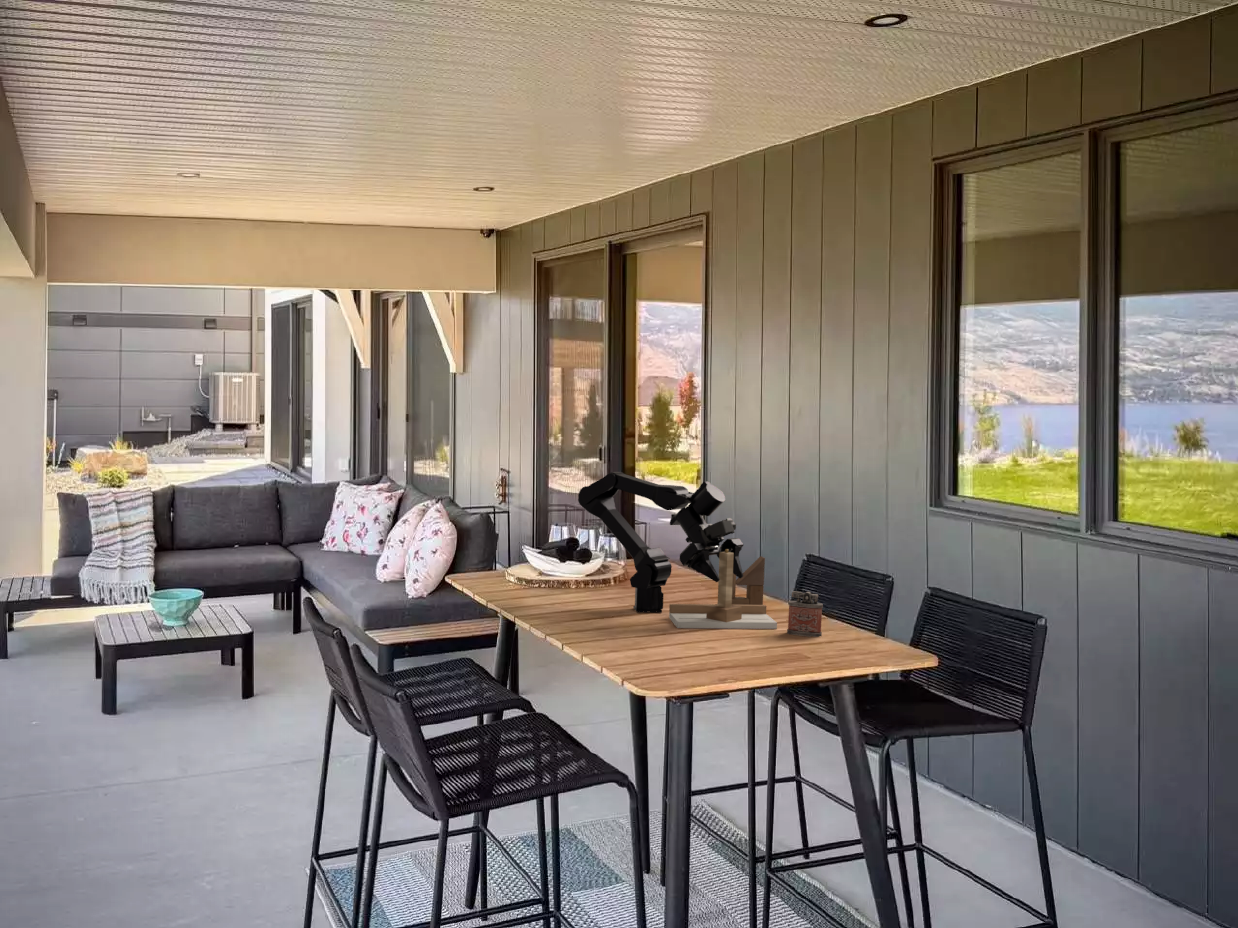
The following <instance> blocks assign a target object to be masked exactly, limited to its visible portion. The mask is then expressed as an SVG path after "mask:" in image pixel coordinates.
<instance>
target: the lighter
mask: <svg viewBox="0 0 1238 928" xmlns="http://www.w3.org/2000/svg"><path fill="white" fill-rule="evenodd" d="M791 598H796V600H788V603H787V604H788V620H787V630H786V634H788V635H793V636H794V635H795V636H801V637H802V636H803V637H811V636H813V637H815V638H820V637H819V636H821V637H822V618H823V616H822V615H823V614H822V613H823V608H824V605H823V603H820V602H818V601H819V594H817V593H811V591H806V592H802V591H794V590H793V591H792V592H791ZM801 599H802V600H801Z"/></svg>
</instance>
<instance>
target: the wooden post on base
mask: <svg viewBox="0 0 1238 928" xmlns="http://www.w3.org/2000/svg"><path fill="white" fill-rule="evenodd" d="M733 557H734V553H731V552H728V549H725V552H720V554H719V558H718V559H719V560H718V576H719V578H720V580H719V581H718V582H717V589H718V590H717V603H716V604H715V605H709V606H707V615H706V618H707V619H712V620H717V621H722V622H730V621H735V620H740V619H742V607H740V606H735V605H732V582H733Z"/></svg>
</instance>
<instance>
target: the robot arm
mask: <svg viewBox="0 0 1238 928" xmlns="http://www.w3.org/2000/svg"><path fill="white" fill-rule="evenodd" d="M619 491H621V492H622V491H623V492H626V493H629V494H631V495H632V494H633V495H636V496H639V497H642V498H645V499H648V500H649V501H652V502H653V504H654V505H656V506H657V507H659V508H661V509H663V510H665V511H674V510H675V511H676V510H679V511H678V512H676V513H673V514H671V515H670V516H671V517H670V520H669V525H670V526H680V527H681V529H682V530H683V531H684V533H685V535H686V536H687V537H686V538H685V541H686V543H688V545H687V546H686V547H685V548H684V549H683V550H682V552H681V553H679V561H680V563H681V565H682V566H683V567H685V566H687V568H689V569H693V570H694V571H696V572H698V573H700V574H702V575H704V576H705V577H707V578H708V579H710V580H712V581H713V582H715V583H718V581H719V580H720V578H719V573H718V572H717V571H716V569H715V567H714V565H713V564H712V562H711V560H710V556H717V558H718V559H719V554H720V552H725V549H728V552H731V553H734V557H733V573H734V574H735V575H736V578H742V577H743V573H744V571H743V569H742V566H741V562H740V552H741V550H742V549H743V547H744V543H743V541H742V540H741V538H738V537H732V538H726V539H725V538H724V537H726V536H729V535H732V534H734V533H735V531H736V529H737V523H735V521H734V520H733V519H732V518H731V517H726V518H725V519H722V520H721V521H720V520H719V521H717V522H715V523H707V521H706V520H705V519H704V516H706V517H710V516H711V515H712V514H714V512H715V511H716V510H717V509H718V508H719V507H720V506H721V505H722V504H723V503H724V502H725V501H726V496H725V493H724V492H723V491H722V490H721V489H719V488H718V487H717V486H715V484H714V485H713V484H712V483H711V482H710V481H709V480H707V481H705V480H704V481H703V482H702V483H701V484H700V485H699V487H698V488H697V489H696V490H695V491H694V492H691V491H689V490H688V489H687V488H686V487H685V486H683V485H673V484H659V483H655V482H652V481H648V480H645V479H641V478H638V477H635V476H632V475H628V474H626V473H624V472H622V471H613V472H612V471H611V472H609V473H608V474H607V473H606V475H605V476H603V477H602V478H600V479H598V480H596V481H594V482H592V483H591V484H589V485H587V486H586V485H585V486H583V487H582V488H581V489H580V490H579V492H578V496H577V497H578V499H577V501H578V504H579V505H580V506H581V507H582V508H583V509H584V510H585V511H587V512H588V513H589V514H591V515H592V516H594V517H596V518H599V519H600V520H601V521H602V523H603V524H604V525H605V526H606V528H607V529H608V530H609V531H610V532H611V534H612V535H613V536H614V537H615V538H616V539H617V541H618V543H620V544H621V545H622V546H623V547H622V548H624V549H625V550H626V552H628V553H627V554H629V555H630V556H631V557H632V559H633V563H634V569H635V571H636V572H635V573H634V574H633V575H632V576H631V577H630V578H629V582H630V586H631V588H634V605H633V609H634V611H635V612H636V613H663V609H664V592H663V591H662V587H665V586H666V583H667V581H668V579H669V578H670V576H671V575H672V567H673V566H672V563H671V562H670V560H671V559H670V557H668V556H667V555H666V554H665V553H664V551H663V550H662V549H661V547H655V548H651V547H650V546H648V545H647V544H646V542H644V540H643V539H642V537H641V536H640V535H639V534H638V533H637V532H636V531H635V529H634V528H633V527H632V526H631V525H630V524H629V522H628V521H627V520H626V519H625V517H624V516H623V515H622V514H621V513H620V511H619V510H618V509H617V508H616V504H615V498H614V497H615V496H616V495H617V494H618V492H619ZM724 541H725V542H724ZM722 542H724V543H722ZM720 543H722V544H720Z"/></svg>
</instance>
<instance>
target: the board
mask: <svg viewBox="0 0 1238 928" xmlns="http://www.w3.org/2000/svg"><path fill="white" fill-rule="evenodd" d="M709 605H715V604H713V603H710V604H709V603H697V604H696V603H669V607H668V609H669V611H668V619H669V620H670V621H671V622H672V623H673V624H674V626H675V627H676V628H677V629H739V630H740V629H743V630H744V629H745V630H746V629H752V630H753V629H755V630H756V629H757V630H761V629H762V630H763V629H764V630H765V629H767V630H769V629H770V630H777V629H778V622H777V621H776V620H775V619H773V618H772V617H771V616H770V615H768V614H767V605H766V604H763V605H735V606H740V607H742V619H740V620H735V621H730V622H722V621H717V620H712V619H707V618H706V615H707V606H709Z"/></svg>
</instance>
